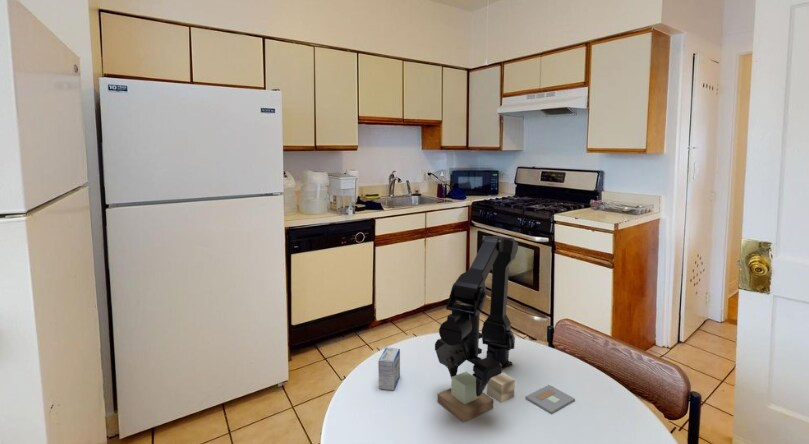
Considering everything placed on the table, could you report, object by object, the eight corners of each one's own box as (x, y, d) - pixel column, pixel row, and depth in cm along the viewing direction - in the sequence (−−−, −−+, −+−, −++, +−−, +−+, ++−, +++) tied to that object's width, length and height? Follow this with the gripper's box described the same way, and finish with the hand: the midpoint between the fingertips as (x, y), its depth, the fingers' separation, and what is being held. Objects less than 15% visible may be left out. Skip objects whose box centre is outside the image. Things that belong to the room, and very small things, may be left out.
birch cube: (499, 387, 116) (500, 371, 115) (513, 396, 112) (514, 379, 111) (486, 393, 113) (487, 376, 112) (501, 402, 109) (501, 385, 108)
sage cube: (465, 388, 111) (466, 371, 110) (479, 398, 107) (479, 379, 106) (451, 394, 108) (451, 376, 107) (464, 404, 104) (465, 385, 103)
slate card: (548, 386, 117) (548, 384, 116) (574, 400, 110) (575, 398, 110) (525, 398, 111) (525, 396, 111) (551, 414, 104) (551, 411, 104)
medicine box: (394, 391, 114) (394, 361, 113) (378, 389, 115) (378, 359, 114) (400, 376, 122) (400, 348, 120) (385, 374, 123) (385, 346, 121)
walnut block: (465, 391, 115) (466, 381, 114) (493, 410, 107) (493, 399, 106) (437, 404, 109) (437, 393, 109) (463, 424, 101) (464, 413, 101)
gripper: (418, 324, 107) (418, 380, 110) (470, 353, 92) (468, 417, 95) (451, 314, 114) (450, 368, 116) (504, 340, 99) (501, 400, 101)
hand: (465, 387), depth 107 cm, fingers open, 9 cm apart
